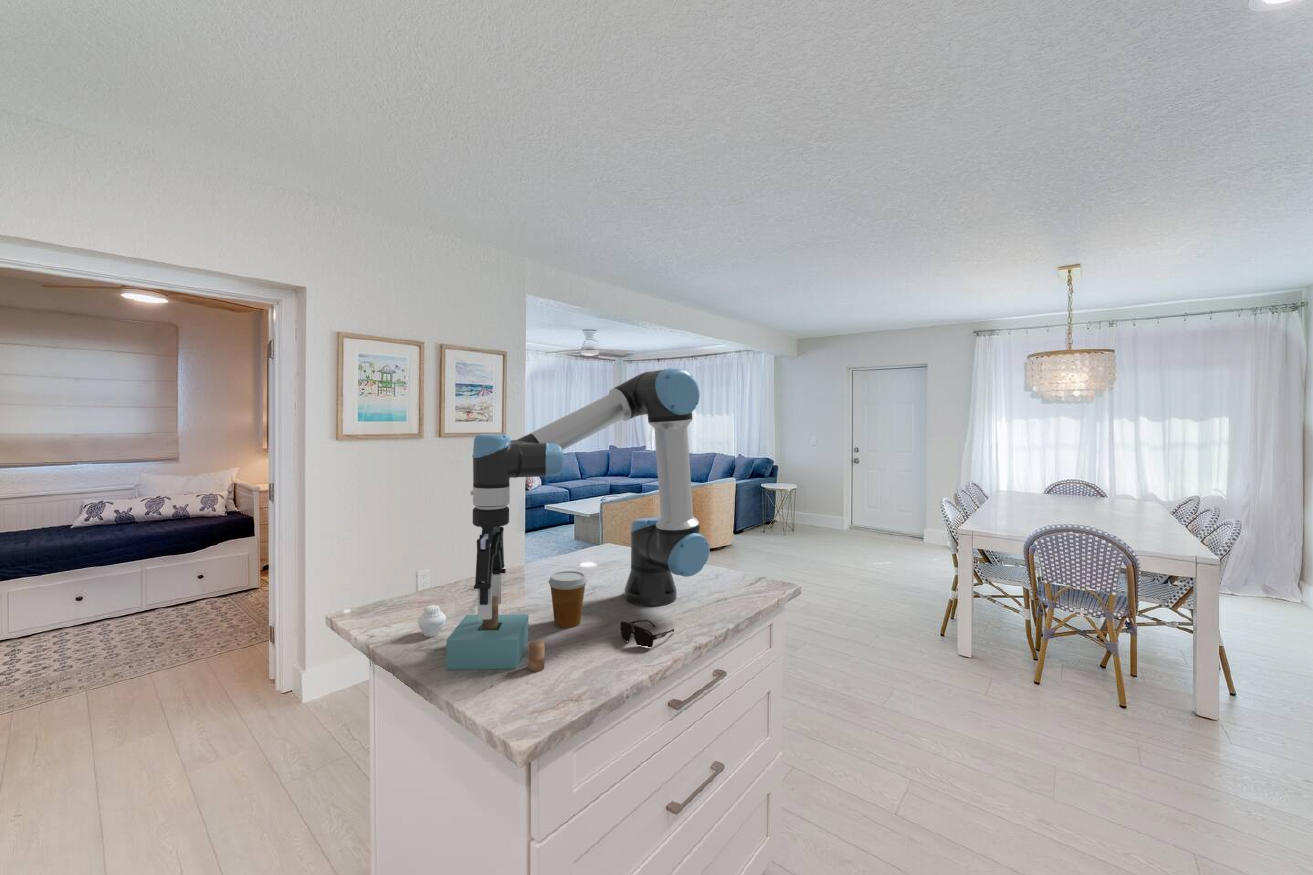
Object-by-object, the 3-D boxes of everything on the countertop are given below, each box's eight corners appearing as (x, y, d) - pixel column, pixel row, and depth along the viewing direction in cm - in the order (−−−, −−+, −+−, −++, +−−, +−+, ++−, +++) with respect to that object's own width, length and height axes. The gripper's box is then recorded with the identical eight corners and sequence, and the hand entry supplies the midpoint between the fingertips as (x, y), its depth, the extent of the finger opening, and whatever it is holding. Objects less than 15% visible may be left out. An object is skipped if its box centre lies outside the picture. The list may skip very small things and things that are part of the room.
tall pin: (498, 650, 115) (499, 595, 115) (495, 656, 112) (496, 600, 112) (483, 650, 115) (485, 596, 115) (480, 656, 112) (481, 600, 112)
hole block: (528, 639, 121) (528, 614, 121) (516, 668, 107) (516, 639, 107) (466, 640, 120) (466, 614, 120) (446, 669, 106) (446, 640, 106)
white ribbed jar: (416, 641, 119) (416, 610, 119) (418, 631, 125) (418, 602, 125) (446, 637, 122) (446, 607, 122) (446, 627, 127) (446, 599, 127)
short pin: (545, 664, 109) (545, 640, 109) (543, 671, 106) (543, 647, 106) (529, 664, 109) (530, 640, 109) (527, 672, 106) (527, 647, 106)
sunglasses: (613, 640, 122) (616, 618, 123) (647, 631, 132) (649, 611, 132) (648, 653, 116) (650, 630, 116) (680, 643, 125) (682, 622, 125)
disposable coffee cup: (540, 627, 129) (541, 578, 129) (560, 614, 138) (561, 568, 137) (574, 633, 126) (575, 583, 125) (593, 619, 135) (593, 572, 134)
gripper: (485, 498, 123) (484, 594, 124) (458, 515, 102) (457, 630, 103) (518, 499, 124) (517, 594, 124) (497, 515, 102) (496, 630, 103)
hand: (490, 610), depth 113 cm, fingers open, 8 cm apart
